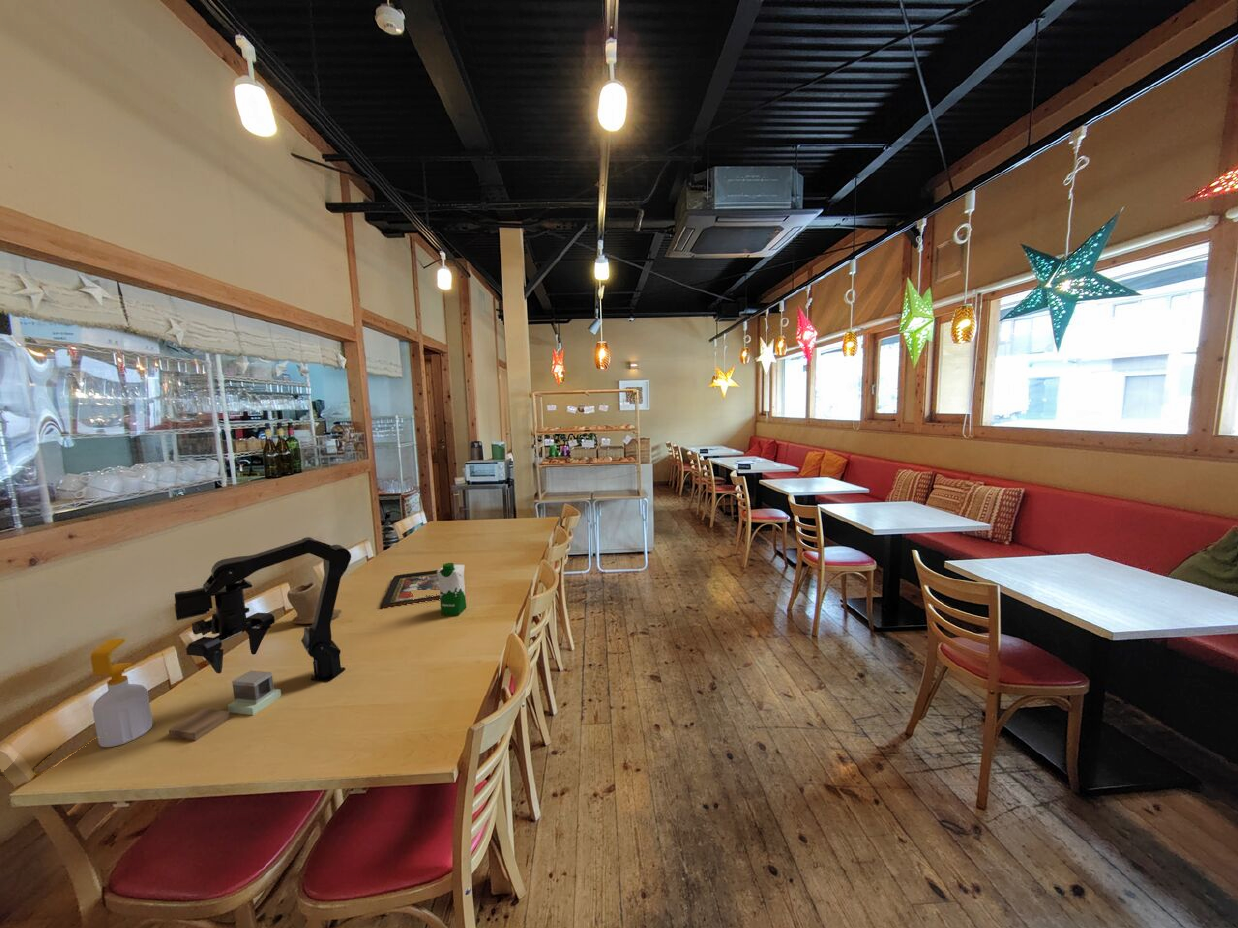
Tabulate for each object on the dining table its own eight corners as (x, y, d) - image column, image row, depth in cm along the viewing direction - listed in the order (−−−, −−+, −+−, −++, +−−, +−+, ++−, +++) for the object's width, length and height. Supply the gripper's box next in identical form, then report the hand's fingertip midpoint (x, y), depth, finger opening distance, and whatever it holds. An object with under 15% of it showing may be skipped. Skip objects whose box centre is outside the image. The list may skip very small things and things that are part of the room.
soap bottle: (163, 721, 116) (148, 632, 113) (125, 747, 107) (109, 651, 104) (127, 723, 116) (112, 633, 113) (87, 749, 107) (69, 652, 104)
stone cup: (282, 628, 166) (277, 589, 164) (308, 613, 178) (304, 577, 176) (319, 629, 164) (314, 590, 162) (343, 615, 176) (339, 578, 174)
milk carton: (438, 616, 172) (434, 566, 170) (449, 606, 181) (445, 558, 179) (459, 616, 171) (456, 566, 169) (469, 606, 180) (466, 558, 178)
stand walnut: (229, 718, 116) (228, 711, 116) (195, 740, 109) (194, 733, 108) (204, 715, 118) (203, 708, 118) (169, 737, 110) (168, 729, 110)
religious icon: (384, 581, 211) (384, 575, 211) (462, 569, 226) (462, 563, 226) (380, 614, 177) (379, 607, 177) (472, 597, 192) (471, 591, 192)
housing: (274, 692, 124) (271, 672, 123) (256, 704, 119) (253, 683, 118) (253, 690, 125) (250, 670, 124) (234, 701, 120) (232, 680, 119)
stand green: (281, 695, 125) (280, 689, 125) (253, 715, 117) (252, 708, 117) (257, 693, 127) (256, 686, 126) (228, 712, 119) (227, 705, 119)
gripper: (240, 591, 128) (246, 643, 130) (164, 621, 110) (172, 680, 111) (273, 594, 126) (278, 646, 128) (201, 624, 108) (209, 684, 110)
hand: (237, 663), depth 119 cm, fingers open, 9 cm apart
